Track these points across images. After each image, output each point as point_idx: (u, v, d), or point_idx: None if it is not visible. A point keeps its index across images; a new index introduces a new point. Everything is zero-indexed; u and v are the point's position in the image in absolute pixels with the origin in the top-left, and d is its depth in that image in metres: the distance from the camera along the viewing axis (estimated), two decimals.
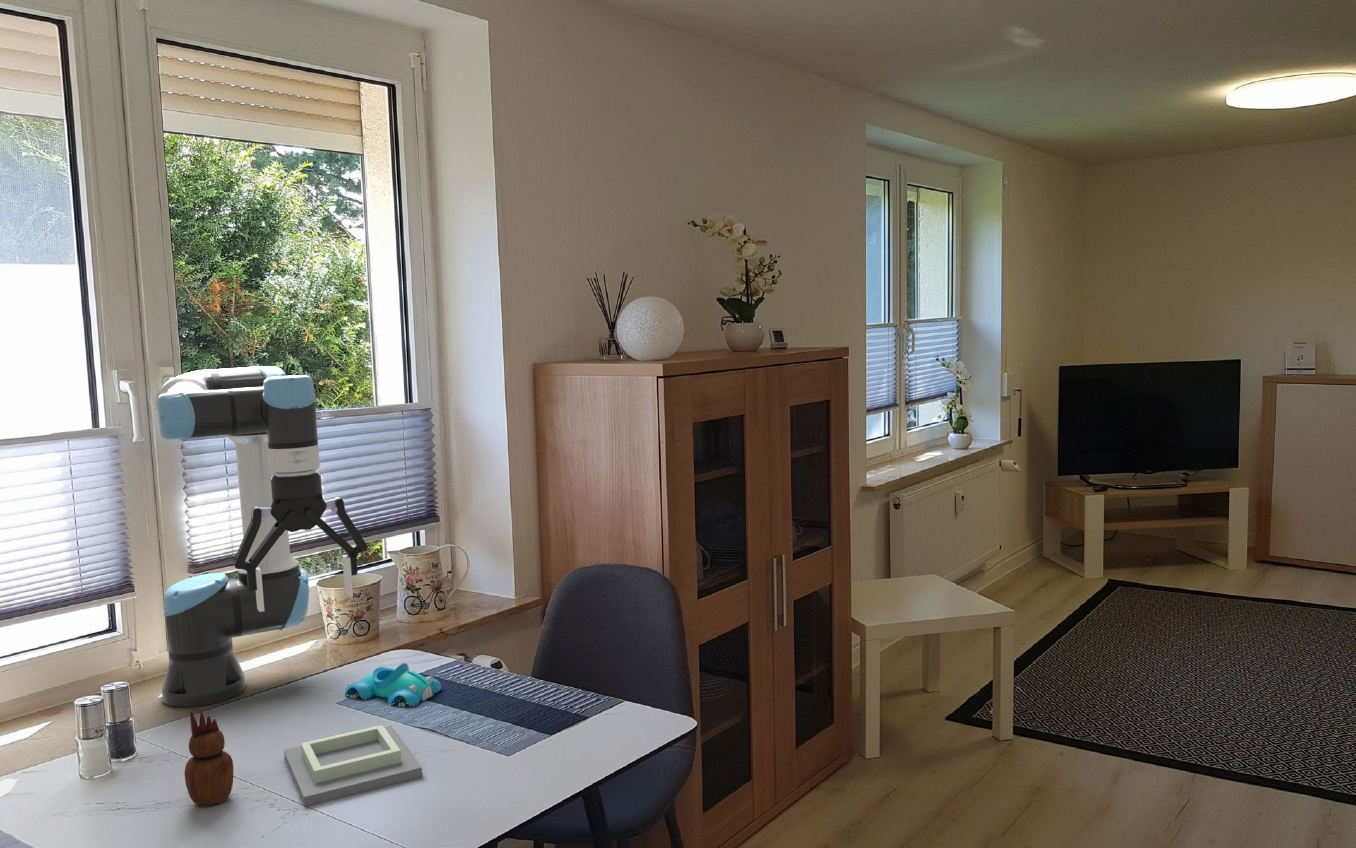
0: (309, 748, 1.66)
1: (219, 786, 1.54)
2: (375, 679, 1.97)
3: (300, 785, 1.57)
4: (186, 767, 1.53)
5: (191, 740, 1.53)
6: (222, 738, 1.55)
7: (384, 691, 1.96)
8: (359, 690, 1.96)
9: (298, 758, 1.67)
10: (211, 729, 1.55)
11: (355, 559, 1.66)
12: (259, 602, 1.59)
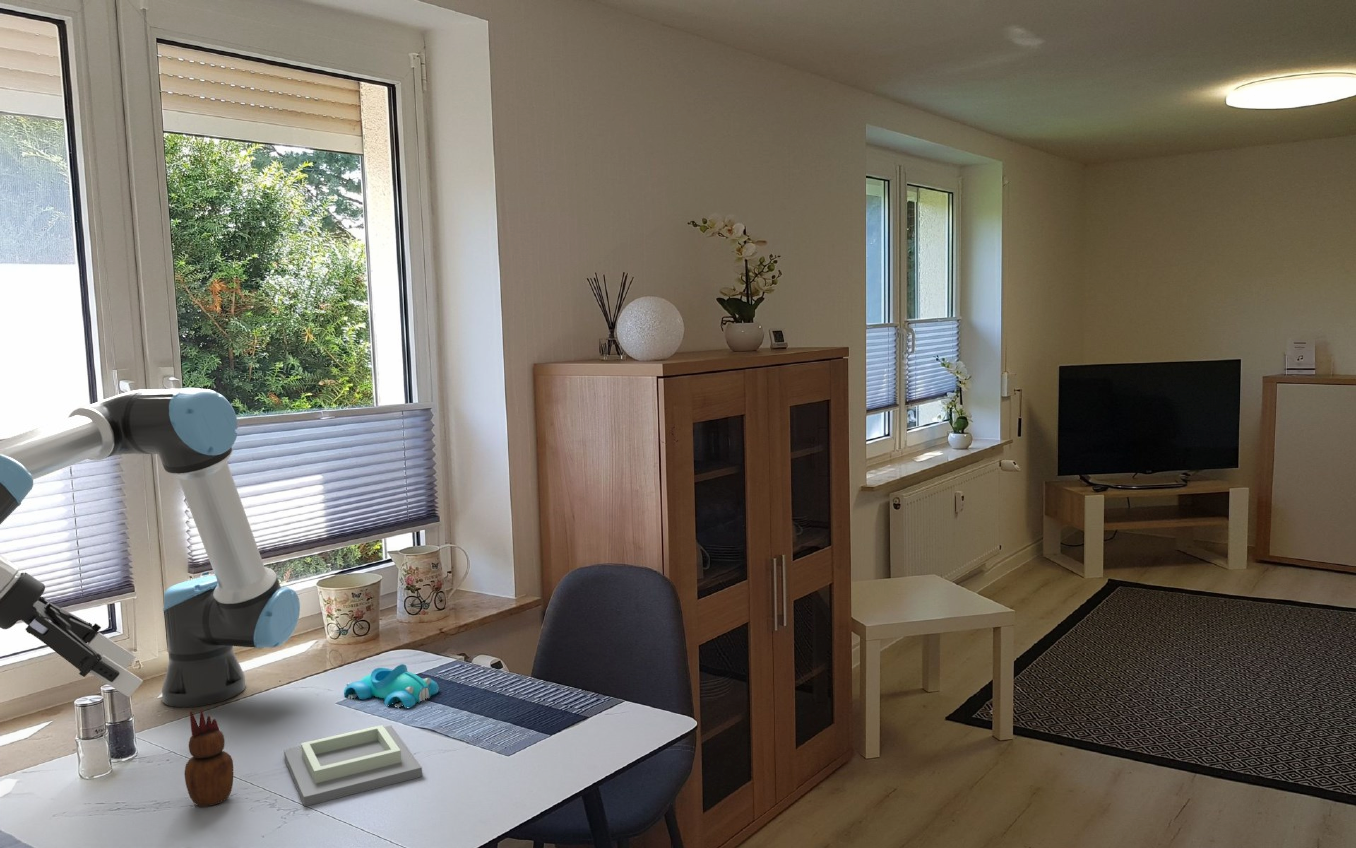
0: (309, 748, 1.66)
1: (219, 786, 1.54)
2: (373, 680, 1.96)
3: (300, 785, 1.57)
4: (186, 767, 1.53)
5: (191, 740, 1.53)
6: (222, 738, 1.55)
7: (381, 692, 1.95)
8: (357, 690, 1.96)
9: (298, 758, 1.67)
10: (211, 729, 1.55)
11: (95, 672, 1.39)
12: None
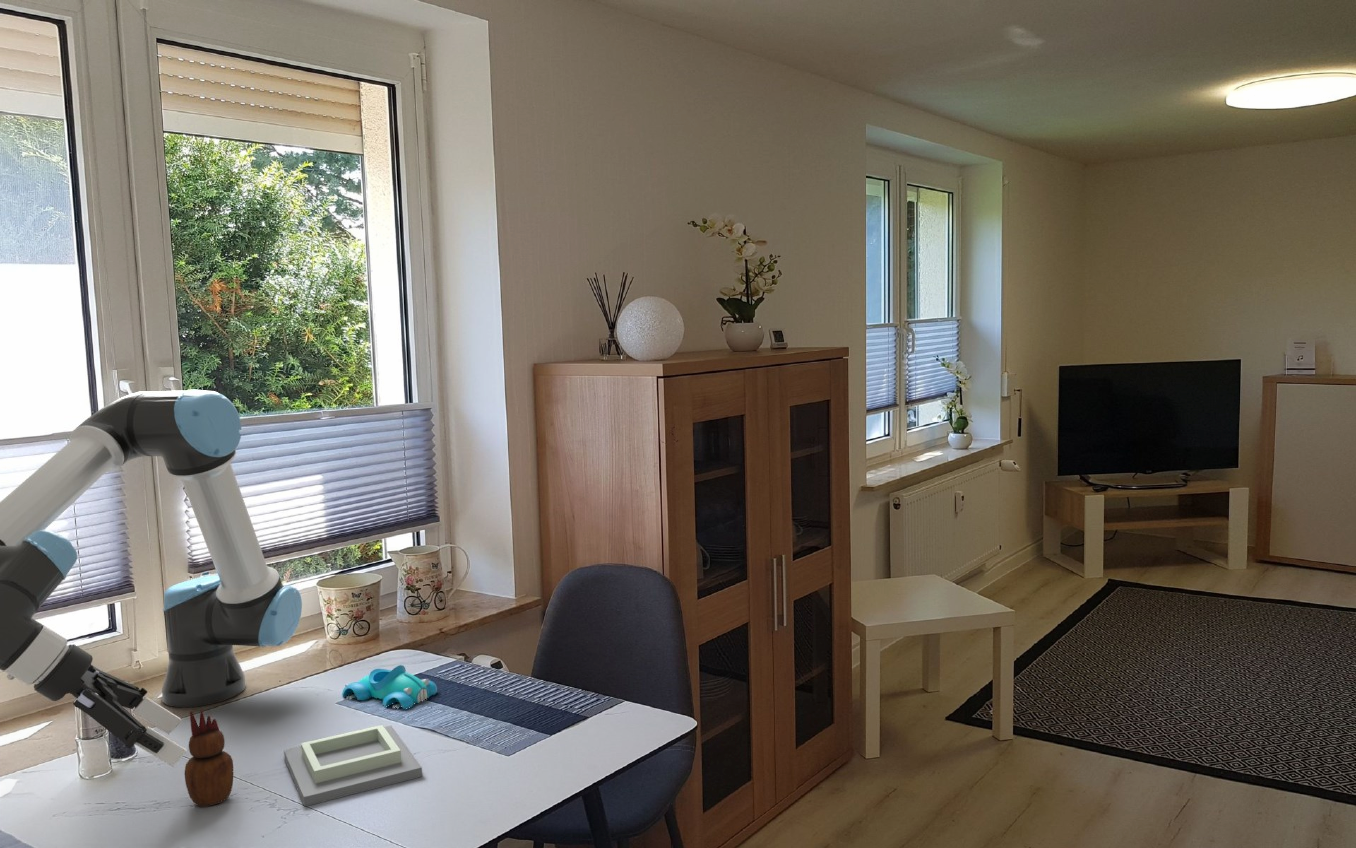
0: (309, 748, 1.66)
1: (219, 786, 1.54)
2: (371, 680, 1.96)
3: (300, 785, 1.57)
4: (186, 767, 1.53)
5: (191, 740, 1.53)
6: (222, 738, 1.55)
7: (380, 693, 1.95)
8: (356, 691, 1.95)
9: (298, 758, 1.67)
10: (211, 729, 1.55)
11: (141, 744, 1.42)
12: None
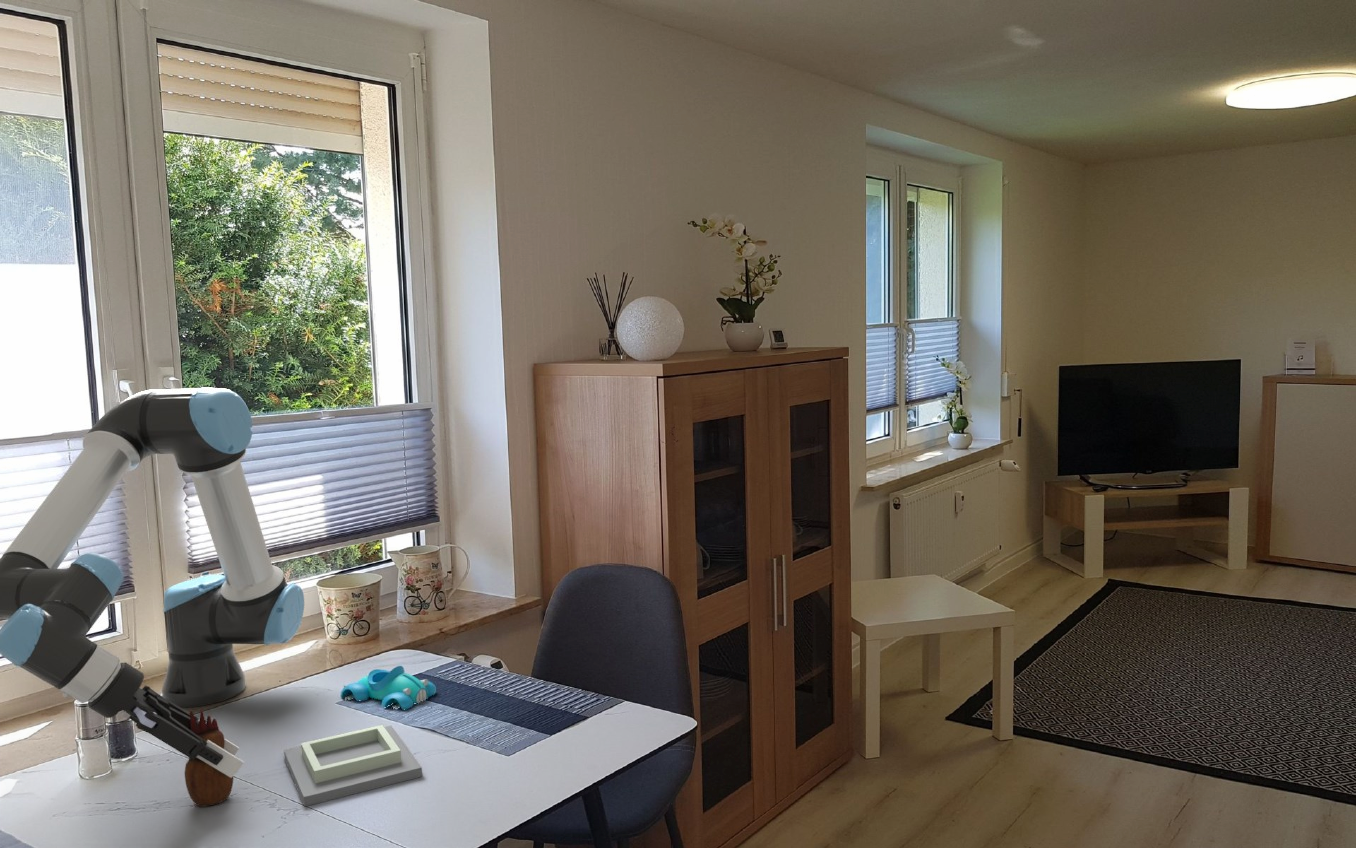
0: (309, 748, 1.66)
1: (219, 786, 1.54)
2: (370, 681, 1.95)
3: (300, 785, 1.57)
4: (186, 767, 1.53)
5: None
6: (222, 738, 1.55)
7: (379, 693, 1.94)
8: (354, 692, 1.95)
9: (298, 758, 1.67)
10: (211, 729, 1.55)
11: (202, 757, 1.51)
12: None
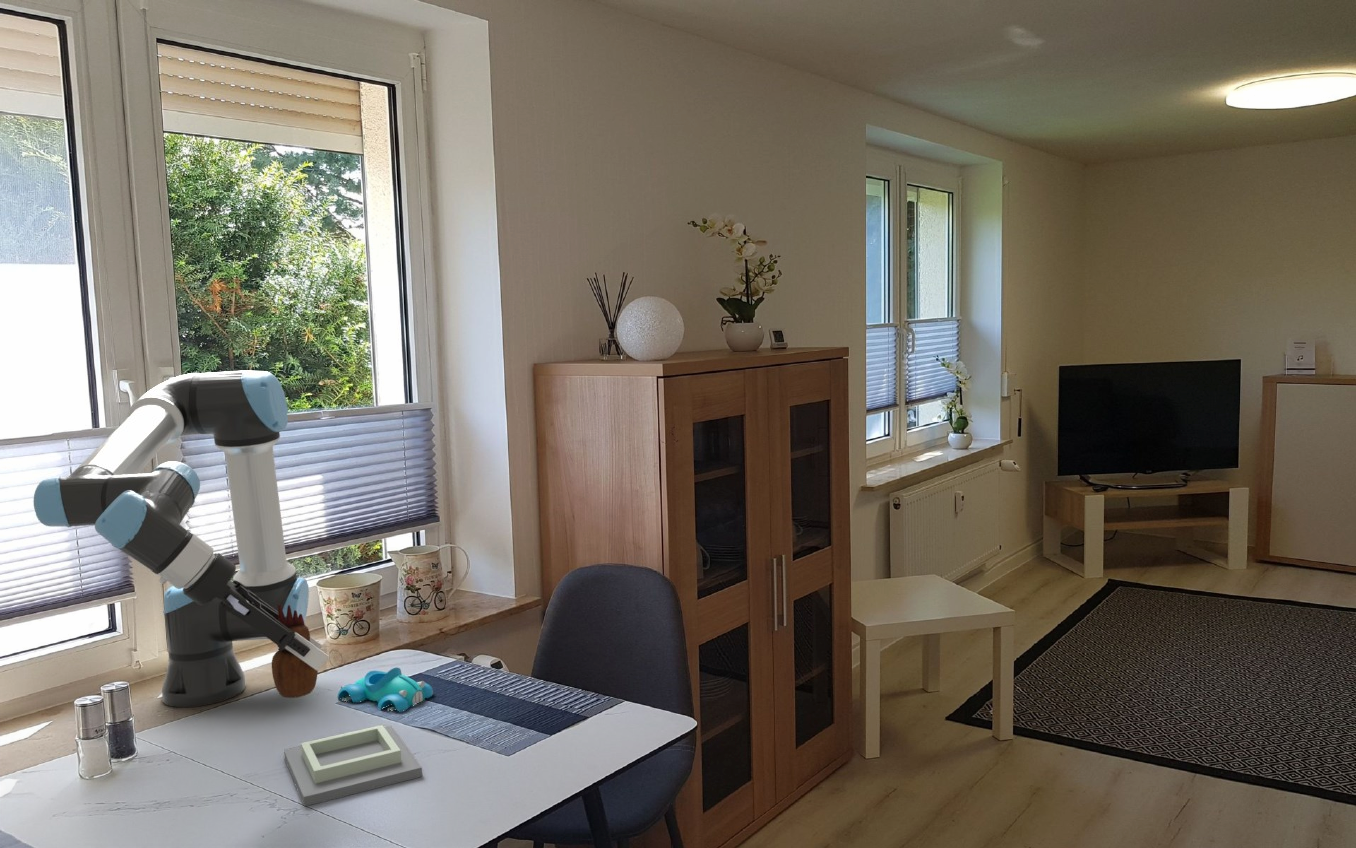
0: (309, 748, 1.66)
1: (305, 678, 1.57)
2: (367, 683, 1.95)
3: (300, 785, 1.57)
4: (273, 659, 1.57)
5: None
6: (308, 632, 1.59)
7: (375, 695, 1.94)
8: (351, 693, 1.94)
9: (298, 758, 1.67)
10: (297, 623, 1.59)
11: (290, 647, 1.54)
12: None
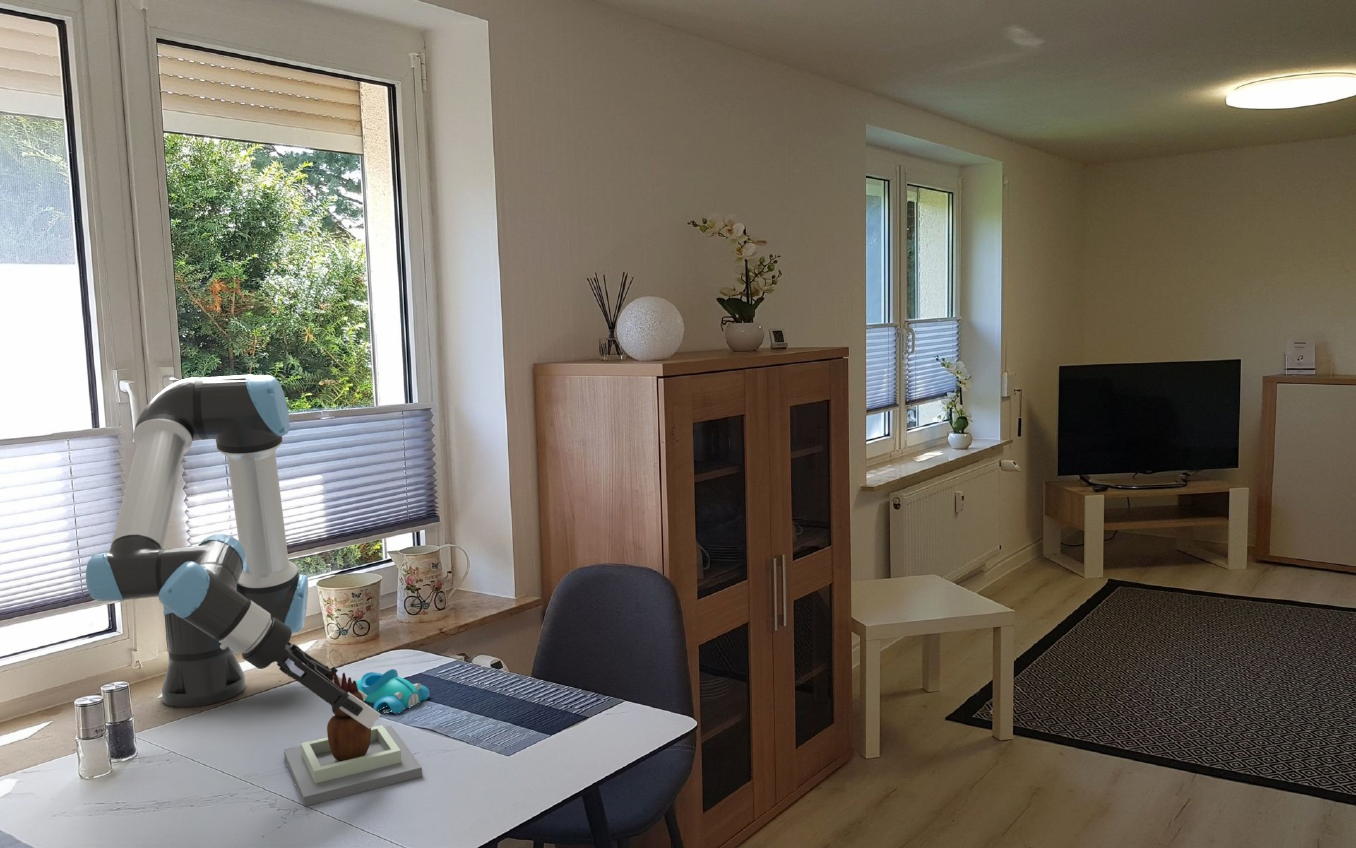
0: (309, 748, 1.66)
1: (359, 743, 1.64)
2: (363, 684, 1.94)
3: (300, 785, 1.57)
4: (329, 725, 1.63)
5: None
6: (362, 698, 1.65)
7: (371, 697, 1.93)
8: None
9: (298, 758, 1.67)
10: (351, 690, 1.65)
11: (344, 708, 1.59)
12: None
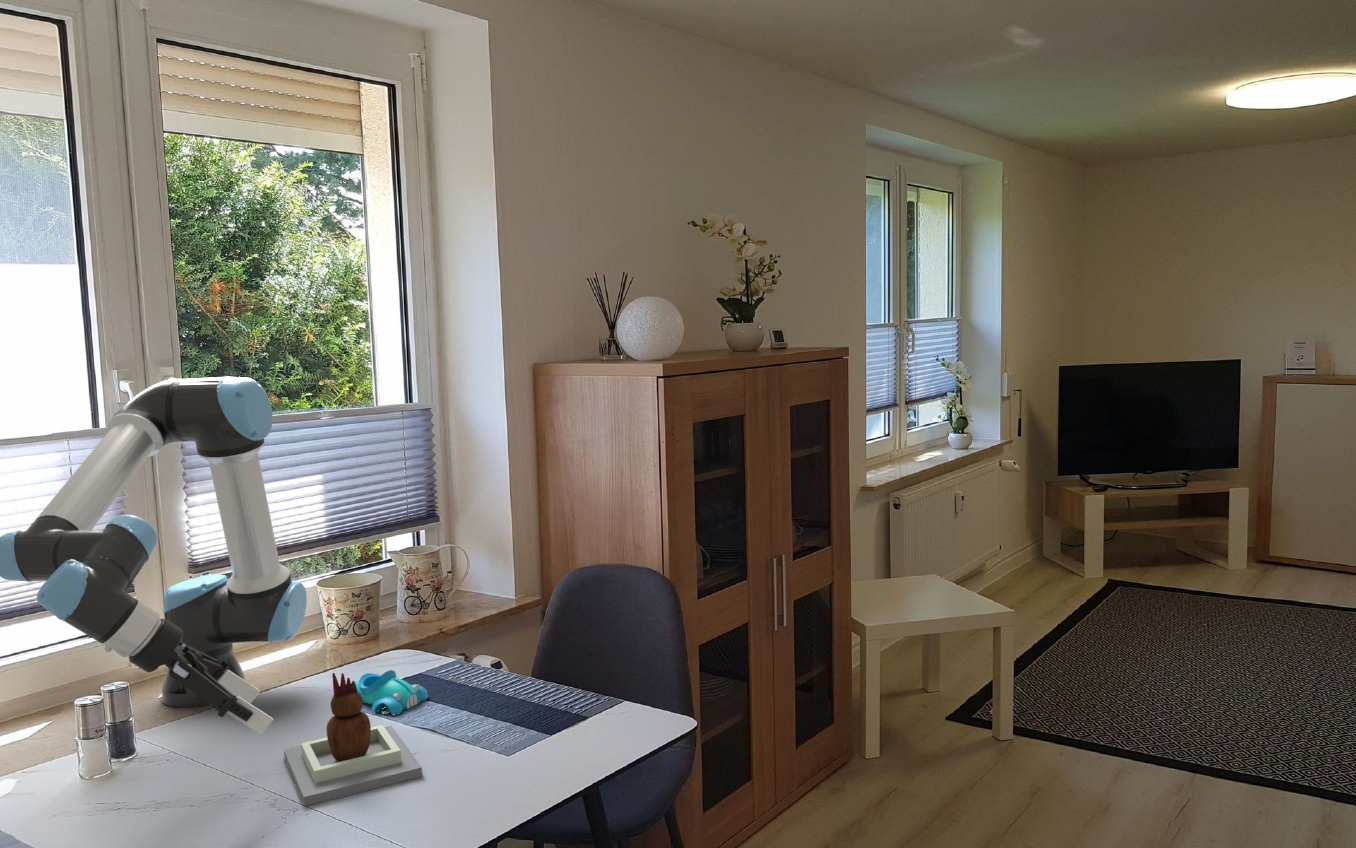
0: (309, 748, 1.66)
1: (359, 743, 1.64)
2: (361, 685, 1.93)
3: (300, 785, 1.57)
4: (329, 725, 1.63)
5: (333, 700, 1.63)
6: (361, 698, 1.65)
7: (369, 698, 1.92)
8: None
9: (298, 758, 1.67)
10: (350, 690, 1.65)
11: (232, 712, 1.50)
12: None
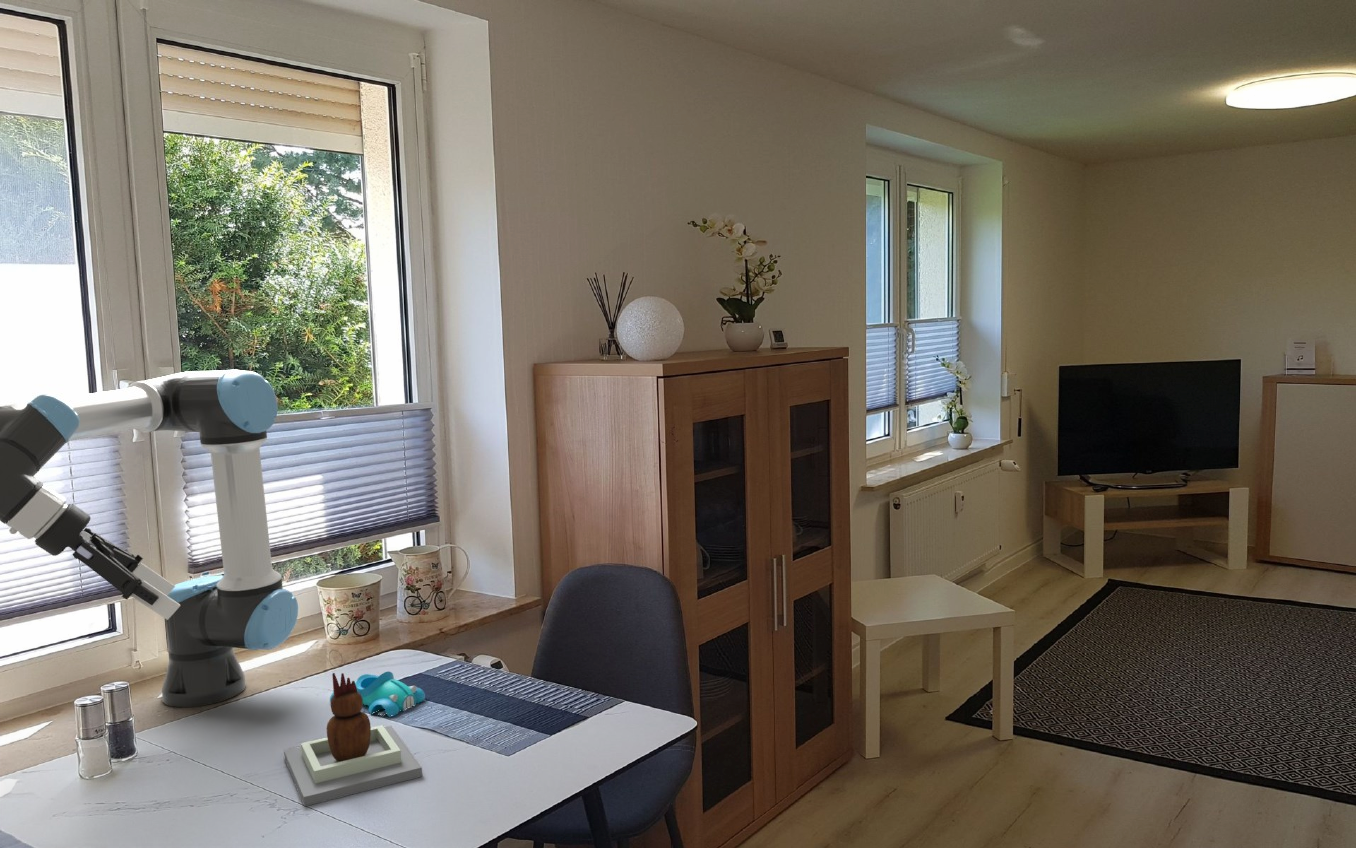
0: (309, 748, 1.66)
1: (359, 743, 1.64)
2: (358, 686, 1.93)
3: (300, 785, 1.57)
4: (329, 725, 1.63)
5: (333, 700, 1.63)
6: (361, 698, 1.65)
7: (366, 699, 1.92)
8: None
9: (298, 758, 1.67)
10: (350, 690, 1.65)
11: (137, 595, 1.50)
12: None
